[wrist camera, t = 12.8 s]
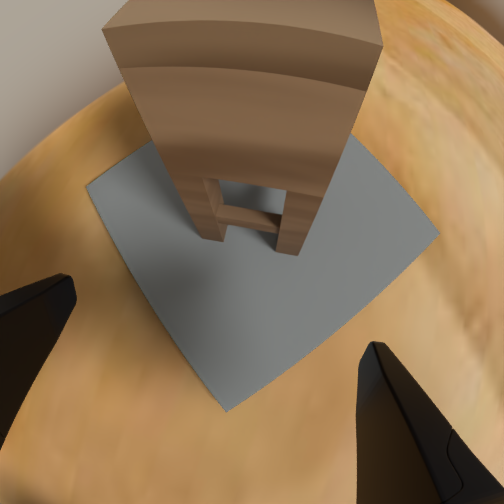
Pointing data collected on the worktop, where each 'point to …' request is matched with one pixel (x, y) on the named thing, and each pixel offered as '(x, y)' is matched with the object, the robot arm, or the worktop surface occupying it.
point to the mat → (259, 264)
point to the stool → (248, 98)
